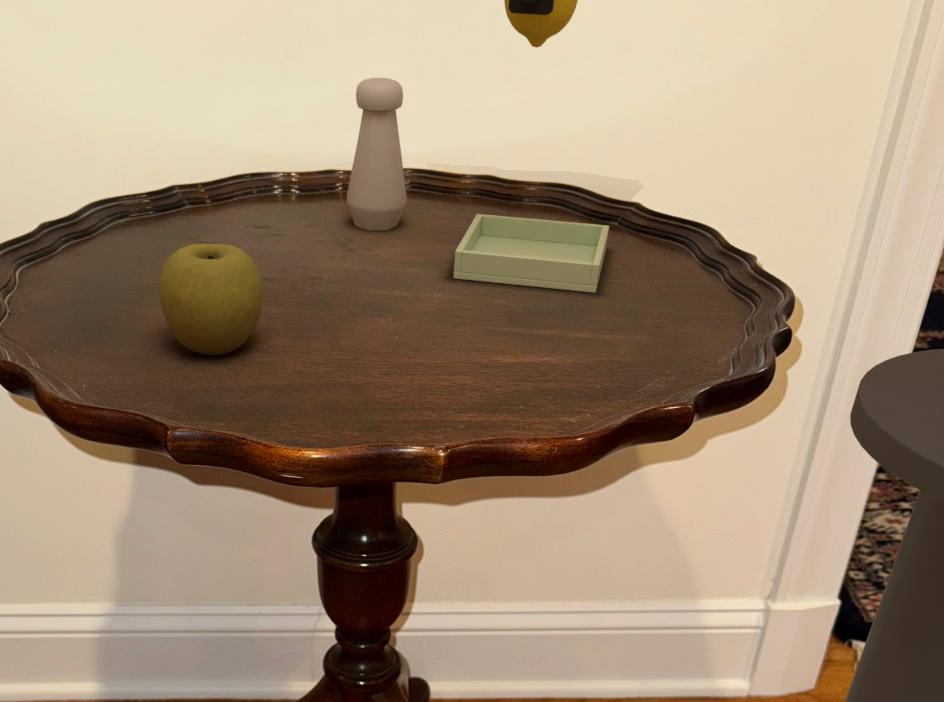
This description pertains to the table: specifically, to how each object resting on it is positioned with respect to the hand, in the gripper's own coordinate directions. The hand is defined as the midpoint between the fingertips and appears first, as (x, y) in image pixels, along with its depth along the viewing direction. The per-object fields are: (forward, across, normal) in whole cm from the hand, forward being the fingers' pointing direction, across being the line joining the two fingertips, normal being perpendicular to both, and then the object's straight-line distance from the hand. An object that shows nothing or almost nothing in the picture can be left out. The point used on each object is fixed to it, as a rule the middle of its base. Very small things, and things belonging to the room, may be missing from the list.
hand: (541, 4), depth 84 cm
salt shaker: (+21, +10, +17) cm, 29 cm away
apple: (+21, -22, +17) cm, 36 cm away
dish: (+21, +5, 0) cm, 22 cm away
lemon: (+3, 0, 0) cm, 3 cm away
